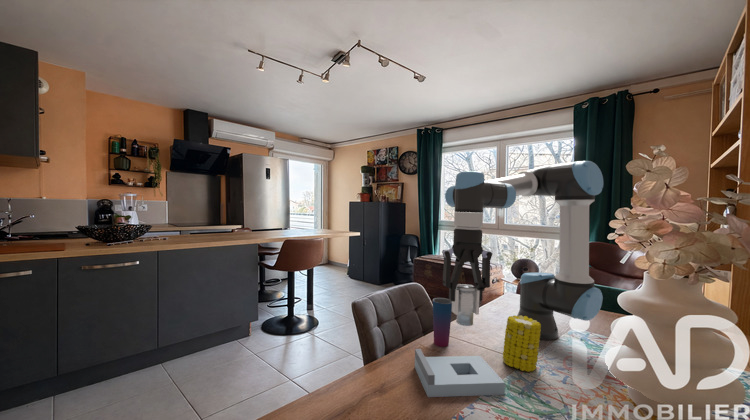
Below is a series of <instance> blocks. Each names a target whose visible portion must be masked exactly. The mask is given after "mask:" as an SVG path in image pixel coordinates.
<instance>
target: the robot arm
mask: <svg viewBox="0 0 750 420" xmlns="http://www.w3.org/2000/svg"><path fill="white" fill-rule="evenodd" d="M454 183H455V184H454V185H451V186H449V187H448V188H447V189H446V191H445V195H444V199H445V202H446V204H447V205H448V206H449V207H451V208H454V215H453V217H454V220H453V226H454V229H453V239H452V240H453V244H452V246H451V248H449V249H443V250H442V251H441V252H442V256H443V267H442V270H443V271H442V286H444V287H446V288H447V289H449V290H448V299H449V300H450V301H452V313H453V314H454V315H456V316H457V315H458V298H459V290H457V289H456V287H457V285H458V284H459V279H460V277H461V276H460V275H461V273H462V269H463V267H464V266H465V265H464V264H466V263H469V265H470V268H471V273H472V276H473V282H474V286H475V287H476V291H474V313H473V314H475V315H480V302H482V301H483V292H484V291H485V289H489V288H490V287H491V260H492V257H493V252H491V251H488V250H485V249H484V248H483V245H482V243H483V231H482V228H483V227H484V226H483V224H484V223H483V222H484V221H483V219H484V209H501V210H502V209H508V208H510V207H512V206H513V205H514V203H515V202H516V200H517V197H519V196H522V197H527V198H528V197H531V196H533V197H535V196H536V197H537V196H539V197H542V196H543V197H544V196H545V197H554V202H555V203H556V204H557V205H558V206H559V269H558V270H559V272H558V273H557V274H554V273H551V272H550V273H549V272H524V273H522V275H521V276H520V283H519V286H520V288H519V290H520V291H519V310H518V313H517V315H516V316H520V315H522V316H523V317H524V316H527V317H528V318H529V319H530V318H532V319H533V320H536V321H537V322H539V323H540V324H541V328H540V329H541V331H540V339H539V340H544V341H545V340H546V341H552V340H557V339H558V337H559V330H558V326H557V323H556V319H555V315H554V312H555V313H559V314H561V315H565V316H566V317H570V318H572V319H576V320H581V321H584V322H585V321H586V322H587V321H591V320H593V319H594V318H596V317H597V315H598V314H599V312H600V310H601V308H602V305H603V299H604V297H603V293H602V291H601V289H600V288H599V287H595V280H594V278H592V277H591V276H590V205H591V204H592V203H594V202H595V201H596V200H595V199H596V196H597V195H599V194H601V193H602V191H603V188H604V176H603V174H602V171H601V169H600V168H599V166H598V164H596V163H595V162H593V161H591V160H576V161H575V160H574V161H569V162H564V163H563V162H562V163H555V164H554V163H553V164H547V165H546V164H545V165H542V166H539V167H535V168H533V169H528V170H522V171H520V172H519V173H517V174H516V175H512V176H511V175H510V176H504V177H499V178H494V179H488V180H487V179H485V174H484V172H481V171H477V170H476V171H475V170H473V171H472V170H469V171H461V172H458V173H457V174H456V177H455V182H454ZM453 255H454V257H455V261H454V266H453V270H452V257H453ZM480 256H481V269H480V262H479V258H480ZM451 270H452V273H451Z"/></svg>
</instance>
